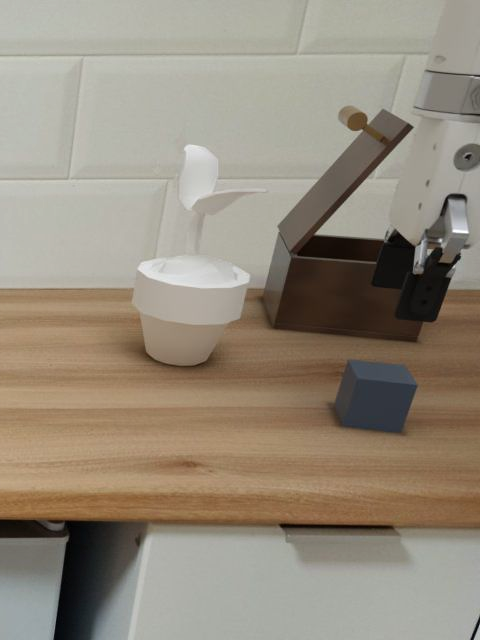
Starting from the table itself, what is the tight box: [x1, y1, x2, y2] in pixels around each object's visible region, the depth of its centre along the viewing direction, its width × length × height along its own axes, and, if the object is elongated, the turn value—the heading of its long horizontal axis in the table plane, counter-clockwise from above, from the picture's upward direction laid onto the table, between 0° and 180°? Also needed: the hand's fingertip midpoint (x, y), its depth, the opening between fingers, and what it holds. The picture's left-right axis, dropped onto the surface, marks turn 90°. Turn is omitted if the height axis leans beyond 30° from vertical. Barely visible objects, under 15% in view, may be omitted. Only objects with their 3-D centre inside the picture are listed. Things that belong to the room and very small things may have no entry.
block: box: [333, 358, 419, 434], centre depth 85 cm, size 5×5×5 cm
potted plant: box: [131, 123, 269, 367], centre depth 93 cm, size 13×12×25 cm
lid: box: [276, 104, 415, 255], centre depth 104 cm, size 17×13×5 cm
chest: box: [262, 231, 429, 343], centre depth 109 cm, size 16×13×9 cm
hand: (400, 302), depth 80 cm, fingers open, 9 cm apart
